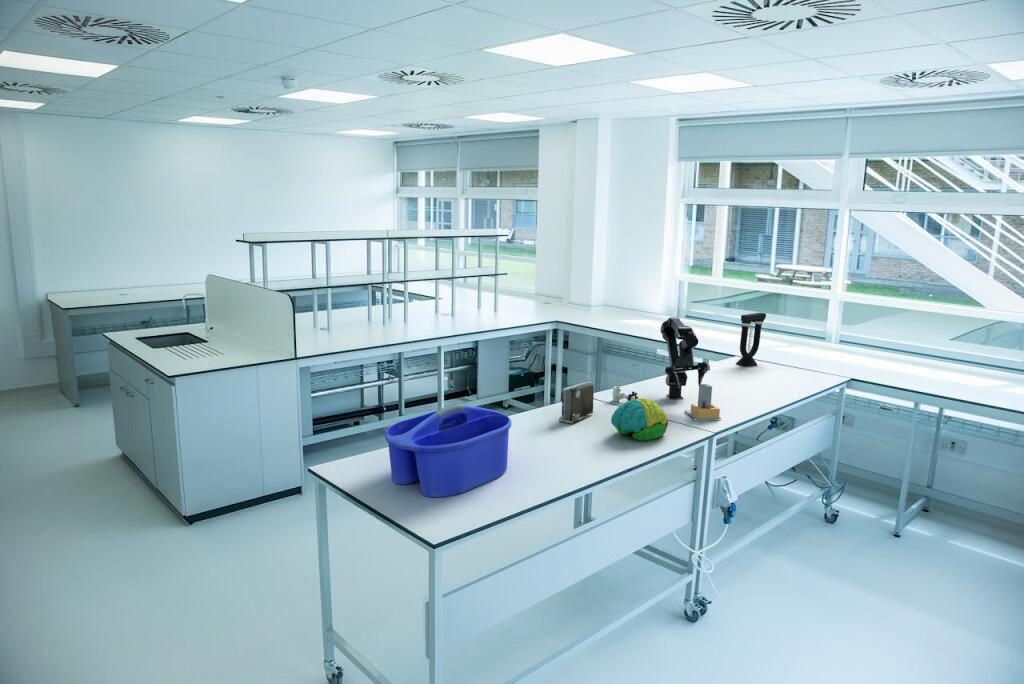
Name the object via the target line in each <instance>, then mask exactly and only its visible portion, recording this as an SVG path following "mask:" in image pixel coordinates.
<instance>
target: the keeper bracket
mask: <svg viewBox="0 0 1024 684" xmlns="http://www.w3.org/2000/svg"><path fill="white" fill-rule="evenodd" d="M720 410H721V408H720V407H717V406H716V405H714V403H711V404H707V408H702V409H700V408H699V407H698V405H696V404H693V403H692V404H690V409H687V410H684V414H686V413H687V414H688V415H687V414H686V415H687V416H689V415H690V416H691V417H693V418H694V419H696V420H708V421H718V420H717V419H721V420H722V417H720V412H721V411H720ZM690 416H689V417H690ZM691 417H690V418H691ZM693 418H692V419H693ZM694 419H693V420H694ZM696 420H695V421H696Z"/></svg>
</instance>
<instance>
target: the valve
mask: <svg viewBox="0 0 1024 684" xmlns="http://www.w3.org/2000/svg"><path fill="white" fill-rule="evenodd" d="M612 388H613V389H612V394H611V395H612V402H614V401H620V400H621V401H622V400H624V399H625V400H627V401H630V400H635V399H637V398H638V399H639V396H637V395H638V393H637V392H635V391H634V390H633V391H631V393H628V394H625V392H621V391H622V387H621V386H613V387H612ZM621 401H620V402H621Z"/></svg>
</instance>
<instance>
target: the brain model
mask: <svg viewBox="0 0 1024 684" xmlns="http://www.w3.org/2000/svg"><path fill="white" fill-rule="evenodd" d="M634 399H635V398H634ZM610 422H611V424H612V425H613V427H614V428H615V429H616V431H617V432H619V433H620V434H622V435H624V436H625V435H628V434H629V433H632V436H631V437H632V438H633V439H635V440H637V441H643V442H644V441H649V440H653V439H654V440H655V439H657V438H660V437H663V436H664V434H665V433H666V432H667V429H668V425H669V419H668V416H667V413H666V412H665V410H663V409H662V408H661V407H660V406H659V405H658V403H656V402H655V400H653V399H652V400H651V399H648V398H645V397H643V398H639V397H638V398H637V399H635V400H630V401H628V400H627V401H625V402H624V403H622V404H621V405H619V406H618V407H617V408H616V409H615V410H614V412H613V414H612V415H611V418H610Z"/></svg>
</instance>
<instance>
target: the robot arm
mask: <svg viewBox="0 0 1024 684" xmlns="http://www.w3.org/2000/svg"><path fill="white" fill-rule="evenodd" d="M660 333H661V335H662V339H663V340H664V341H666V345H667V352H668V354H667V355H668V360H669V365H670V366H667V367H665V369H664V373H665V374H666V377H665V385H666V386H667V387H668V394H667V393H666V395H667V396H668V397H669V398H670V400H683V399H684V397H683V396H682V390H683V389H682V387H687V386H686V385H687V382H688V374H687V373H686V372H688V371H697V377H698V379H697V383H698V386H699V384H702V382H703V380H704V377H705V375H706V374H707V373H708V371H711V366H710V363H708V362H706V361H701V362H697V364H696V365H694V360H695V359H694V353H693V350H694V349H695V348H696V347H697V345H699V338H698V337H697V334H696V333H695V331H694V329H693V327H691V326H689V325H685V324H684V323H683V321H681V319H680V317H676V316H675V317H673V316H672V317H668V319H667V320H665V321H663V322H662V324H661V326H660ZM677 340H680V341H679V342H677ZM667 396H666V397H667ZM669 398H668V399H669Z"/></svg>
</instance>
